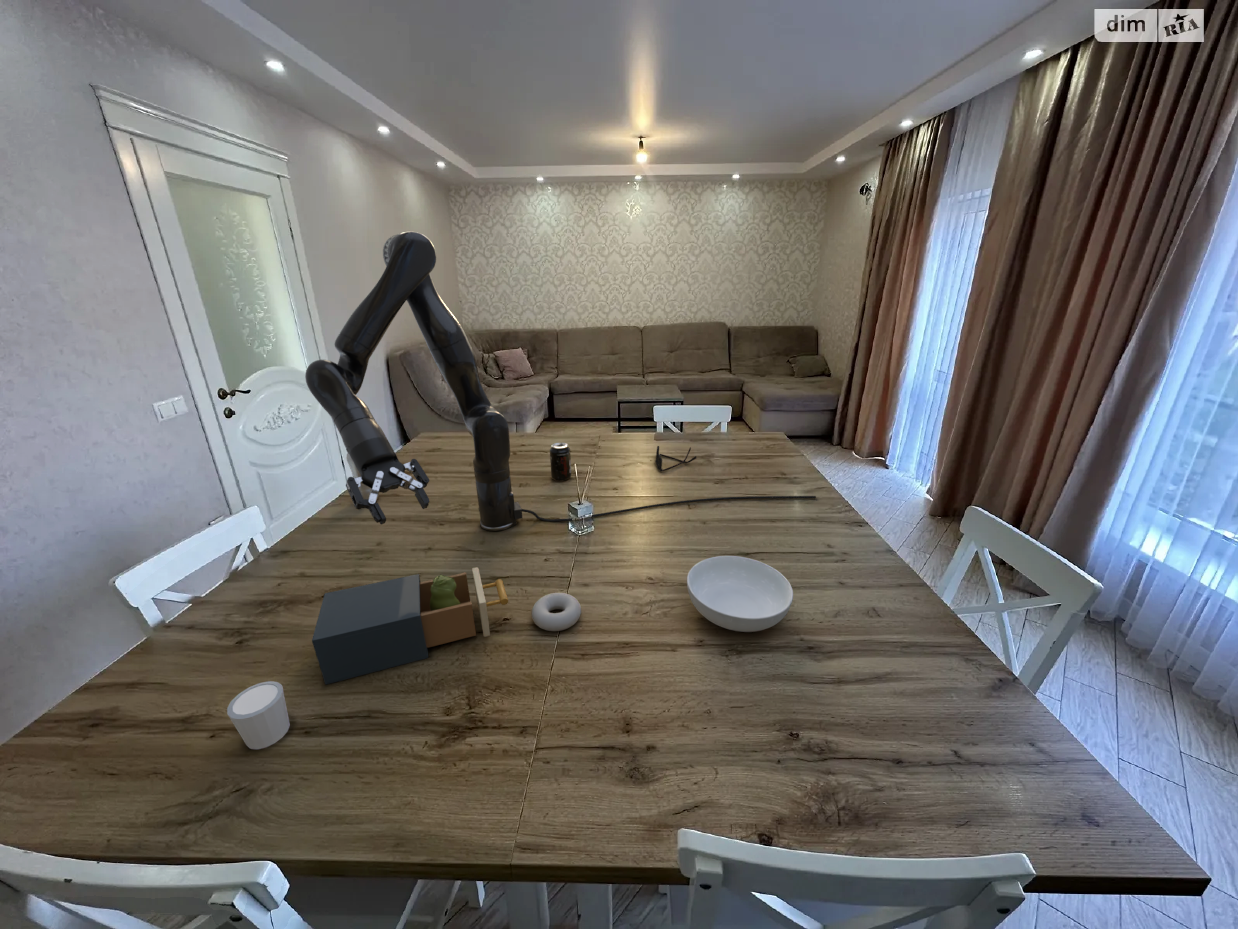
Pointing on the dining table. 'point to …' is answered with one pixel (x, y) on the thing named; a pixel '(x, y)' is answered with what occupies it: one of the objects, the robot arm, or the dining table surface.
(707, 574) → the serving bowl
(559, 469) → the beverage can
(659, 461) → the sunglasses
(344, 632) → the cabinet
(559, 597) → the donut
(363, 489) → the plastic bottle
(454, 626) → the drawer
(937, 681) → the dining table surface
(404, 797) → the dining table surface
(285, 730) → the white tapered tub
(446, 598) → the pear
